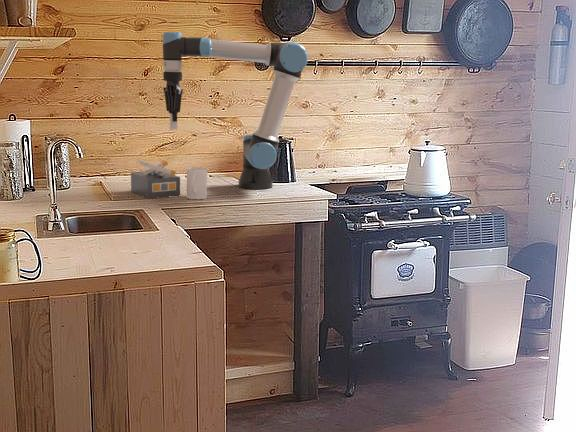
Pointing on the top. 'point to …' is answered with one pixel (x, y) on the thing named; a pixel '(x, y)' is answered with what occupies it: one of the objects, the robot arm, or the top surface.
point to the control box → (155, 184)
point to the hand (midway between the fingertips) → (173, 129)
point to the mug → (196, 183)
